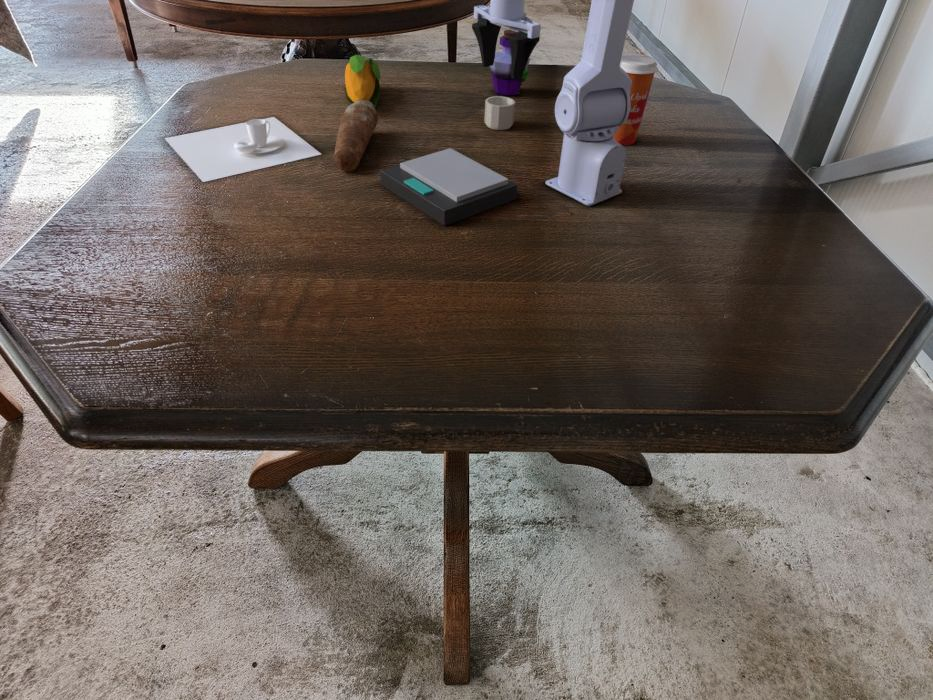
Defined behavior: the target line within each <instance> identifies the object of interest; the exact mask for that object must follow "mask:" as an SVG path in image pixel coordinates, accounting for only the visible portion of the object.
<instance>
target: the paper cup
mask: <svg viewBox="0 0 933 700" xmlns="http://www.w3.org/2000/svg"><path fill="white" fill-rule="evenodd" d="M620 67H621V68H622V69H623V70H624V71H625V72H626V73H627V74H628V76H629V77H630V79H631V80H632V85H631V90H630V103H631V105H630V112H629V116H628V118H627V120H626V122H625V123H624V124H623V125H621V126H619V127H618V132H617V134H614V135H613V137H614V139H615V140H616V141H617V142H618V143H619V144H621V145H622V146H630V145H633V144H635V142H636V140H637V137H638V134H639V130H640V127H641V123H642V120H643V117H644V113H645V109H646V105H647V102H648V98H649V94H650V91H651V88H652V83H653V80H654V76H655V73H656V72H658V71H659V67H658V63H657V61H656V59H655V58H654V57H652V56H650V55H647V54H644V53H643V54H642V53H635V52H634V53H633V52H625V53H622V57H621V61H620Z"/></svg>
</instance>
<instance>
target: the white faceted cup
mask: <svg viewBox="0 0 933 700" xmlns="http://www.w3.org/2000/svg"><path fill="white" fill-rule="evenodd" d="M515 112H516V101H515V99H513V98H511V97H510V96H509V97H506V96H501V95H494V96H490V97H487V98H486V99H485V100H484V120H483V122H484V124H485V126H486V127H487V128H489V129H491V130H496V131H504V130H509V129H511V127H512V126H513V125H514V122H515Z"/></svg>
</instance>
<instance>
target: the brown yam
mask: <svg viewBox="0 0 933 700" xmlns="http://www.w3.org/2000/svg"><path fill="white" fill-rule="evenodd" d="M378 122H379V114H378V112H377V109H376V107H375V108H374V105H373V104H372V101H371V100H370V101H365V100H358V101H357V102H355V103H353V104H352V103H350V105H348V106H346V107H345V108H344V110H343V112H342V115H341V118H340V122H339V129H338V130H337V131H338V132H337V136H336V142H335V148H334V154H333V163H334V164H335V166H336V167H337V168H338V169H340V170H342V171H345V172H354V171H356V169H358V167H359V165H360V162H361V159H362V158H363V156H364V154H365V152H366V149H367V147H368V144H369V141H370V140H371V137H372V136H373V133H374V131H375V129H376V127H377V124H378Z"/></svg>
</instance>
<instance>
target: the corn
mask: <svg viewBox="0 0 933 700" xmlns="http://www.w3.org/2000/svg"><path fill="white" fill-rule="evenodd" d="M366 58H367V57H366V56H365V55H361V54H354V55H352V56H350V57H349V62H348V63H347V64H346V66H345V70H344V83H345V84H344V93H345V97H346V99H347V101H348V102H349V103H350V104H353V103H355V102H357V101H358V100H365V101H370V102H371V103H372V104H373V105H374V108H375V109H376V108H377V104H378V101H379V99H380V95H381V86H380V80H381V78H382V77H381V71H380V66H379V64H378V63H376V61H375V60H374V58H372V57H369V58H367V59H366Z"/></svg>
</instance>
